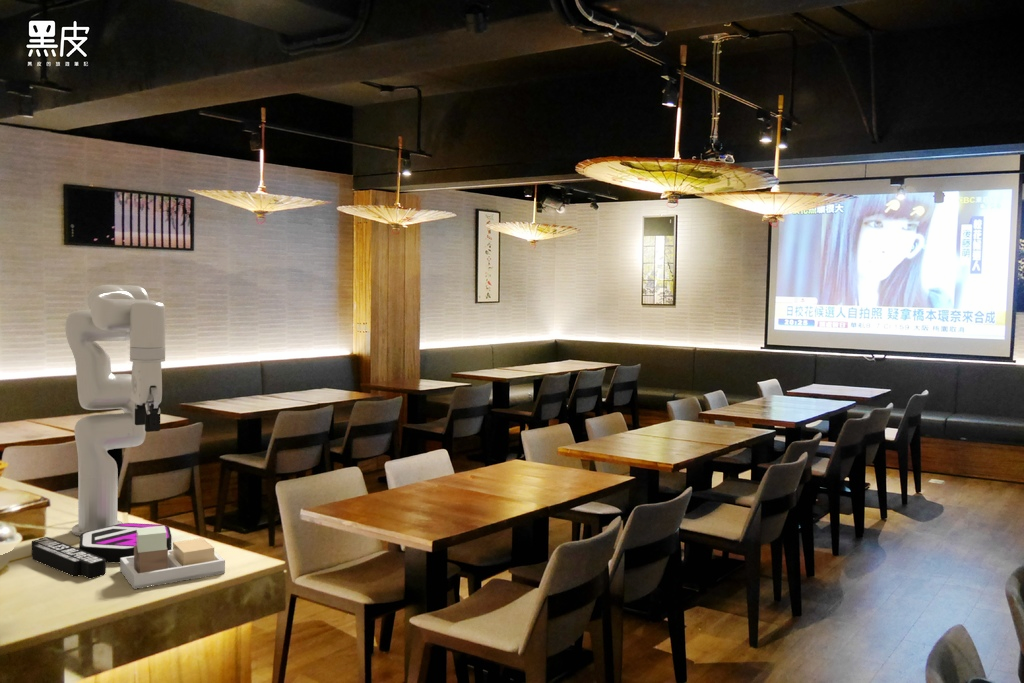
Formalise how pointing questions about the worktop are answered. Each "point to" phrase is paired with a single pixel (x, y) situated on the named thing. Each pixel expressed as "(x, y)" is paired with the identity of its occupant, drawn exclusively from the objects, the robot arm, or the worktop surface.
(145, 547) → the sage box
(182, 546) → the box
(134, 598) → the worktop surface
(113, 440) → the robot arm
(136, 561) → the walnut block
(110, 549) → the sign
